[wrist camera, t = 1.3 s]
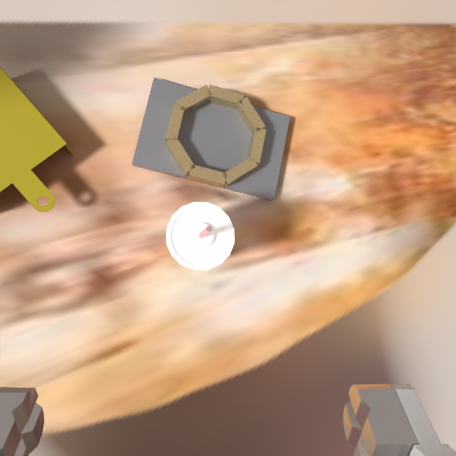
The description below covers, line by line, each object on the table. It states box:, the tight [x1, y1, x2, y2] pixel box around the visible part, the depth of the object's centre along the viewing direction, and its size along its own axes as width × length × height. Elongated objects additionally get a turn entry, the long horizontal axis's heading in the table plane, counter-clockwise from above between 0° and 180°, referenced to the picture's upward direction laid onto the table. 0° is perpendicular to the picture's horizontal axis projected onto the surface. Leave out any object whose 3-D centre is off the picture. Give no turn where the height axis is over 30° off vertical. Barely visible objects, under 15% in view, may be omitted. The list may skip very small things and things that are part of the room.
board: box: [132, 78, 290, 200], centre depth 47 cm, size 16×10×1 cm, turn 78°
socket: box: [165, 85, 266, 187], centre depth 45 cm, size 10×10×2 cm
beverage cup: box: [166, 202, 235, 270], centre depth 38 cm, size 6×6×14 cm
